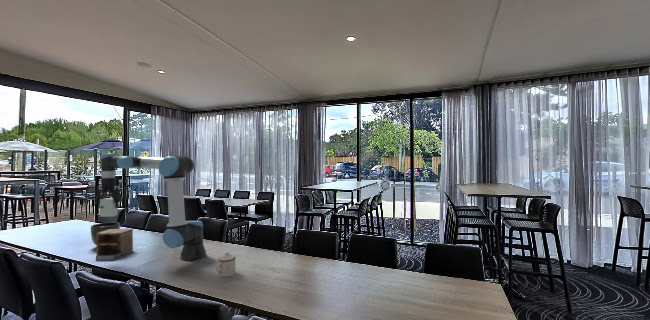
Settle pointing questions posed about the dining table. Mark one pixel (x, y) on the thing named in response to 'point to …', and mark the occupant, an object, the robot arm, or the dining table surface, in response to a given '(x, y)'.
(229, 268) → the teacup with lid
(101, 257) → the grey drawer
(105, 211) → the pale green block
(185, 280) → the dining table surface
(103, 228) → the planter
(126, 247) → the wood-grain box
